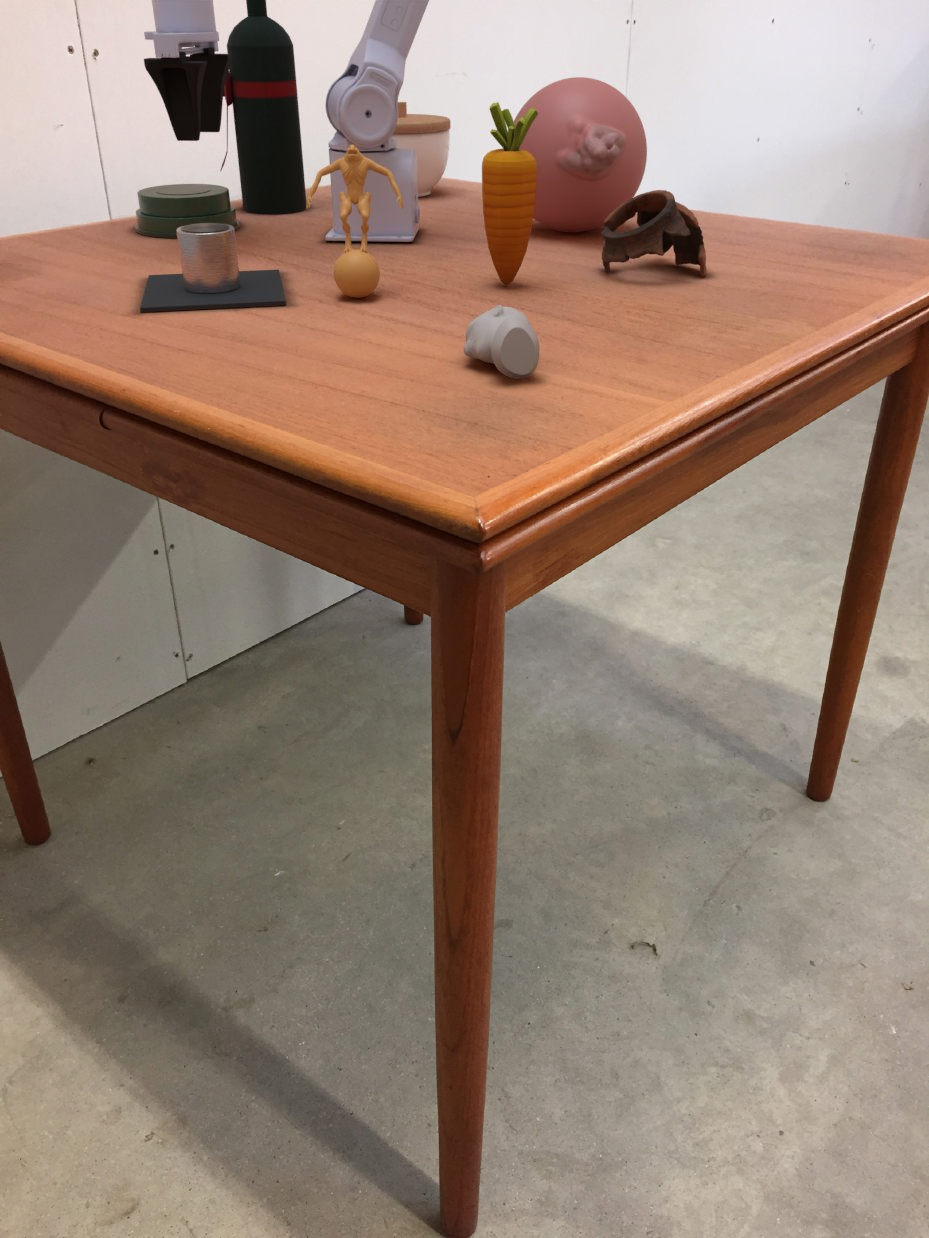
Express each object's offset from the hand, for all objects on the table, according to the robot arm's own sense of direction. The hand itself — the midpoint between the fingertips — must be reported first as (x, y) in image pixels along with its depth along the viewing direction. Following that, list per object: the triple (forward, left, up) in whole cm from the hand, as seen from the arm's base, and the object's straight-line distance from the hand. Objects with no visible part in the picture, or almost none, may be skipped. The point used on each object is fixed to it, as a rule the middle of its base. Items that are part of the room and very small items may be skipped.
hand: (199, 136), depth 102 cm
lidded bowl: (-17, -34, -11) cm, 39 cm away
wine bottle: (-1, -21, -11) cm, 24 cm away
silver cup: (-6, +21, -10) cm, 24 cm away
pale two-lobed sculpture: (-32, +41, -11) cm, 53 cm away
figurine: (-19, +21, -11) cm, 30 cm away
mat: (-6, +21, -10) cm, 24 cm away
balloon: (-39, -7, -11) cm, 41 cm away
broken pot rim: (-46, +10, -11) cm, 48 cm away
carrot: (-32, +17, -11) cm, 38 cm away
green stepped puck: (+5, -8, -10) cm, 14 cm away
